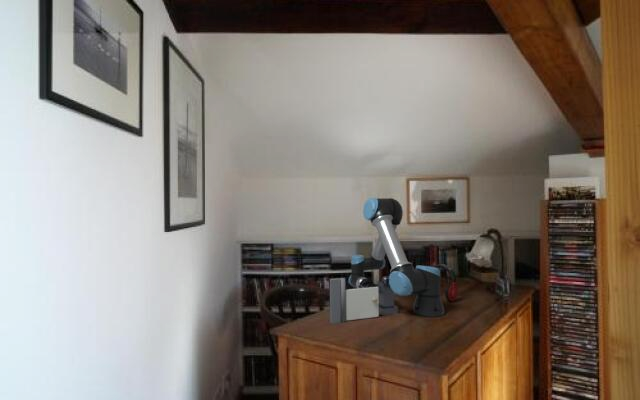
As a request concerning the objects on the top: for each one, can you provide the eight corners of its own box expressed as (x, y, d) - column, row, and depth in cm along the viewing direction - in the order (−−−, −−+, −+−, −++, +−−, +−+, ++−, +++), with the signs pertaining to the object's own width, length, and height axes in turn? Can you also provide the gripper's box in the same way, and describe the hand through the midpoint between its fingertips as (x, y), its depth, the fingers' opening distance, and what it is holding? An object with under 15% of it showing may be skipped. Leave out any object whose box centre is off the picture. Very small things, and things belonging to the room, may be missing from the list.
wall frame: (331, 323, 168) (331, 279, 168) (329, 322, 170) (329, 278, 170) (346, 322, 170) (346, 278, 170) (344, 320, 172) (343, 277, 173)
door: (348, 321, 169) (347, 291, 170) (345, 319, 172) (345, 289, 172) (380, 317, 175) (380, 288, 175) (377, 315, 178) (377, 286, 178)
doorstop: (389, 308, 192) (388, 274, 193) (398, 313, 184) (398, 277, 184) (373, 310, 189) (373, 275, 190) (382, 315, 181) (382, 278, 181)
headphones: (460, 301, 207) (460, 265, 207) (450, 304, 200) (450, 267, 201) (434, 295, 220) (433, 261, 221) (423, 297, 214) (423, 263, 215)
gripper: (384, 289, 212) (405, 298, 193) (345, 293, 204) (362, 302, 184) (384, 276, 213) (404, 284, 193) (344, 280, 204) (362, 287, 184)
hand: (384, 293), depth 188 cm, fingers open, 13 cm apart
